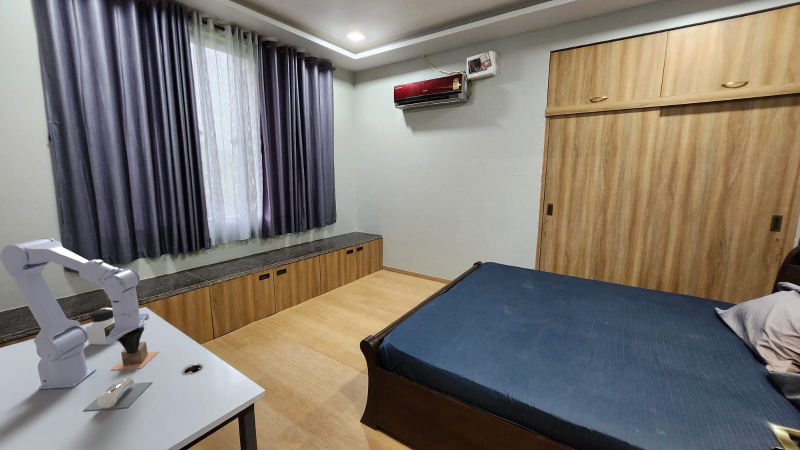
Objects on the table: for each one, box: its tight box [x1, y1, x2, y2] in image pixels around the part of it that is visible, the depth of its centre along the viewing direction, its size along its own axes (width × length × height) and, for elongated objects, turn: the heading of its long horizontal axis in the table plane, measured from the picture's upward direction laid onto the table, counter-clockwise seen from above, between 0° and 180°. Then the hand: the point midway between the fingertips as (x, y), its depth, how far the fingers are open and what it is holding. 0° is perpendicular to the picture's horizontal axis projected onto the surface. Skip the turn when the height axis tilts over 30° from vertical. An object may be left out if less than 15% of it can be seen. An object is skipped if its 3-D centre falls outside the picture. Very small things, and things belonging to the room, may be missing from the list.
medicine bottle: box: [85, 307, 115, 345], centre depth 116 cm, size 7×7×12 cm
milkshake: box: [96, 376, 135, 411], centre depth 87 cm, size 4×5×10 cm
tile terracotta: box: [110, 351, 160, 371], centre depth 104 cm, size 9×9×1 cm
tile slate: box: [83, 381, 153, 412], centre depth 89 cm, size 11×10×1 cm
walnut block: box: [120, 341, 149, 366], centre depth 104 cm, size 5×5×5 cm
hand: (132, 352), depth 94 cm, fingers closed
